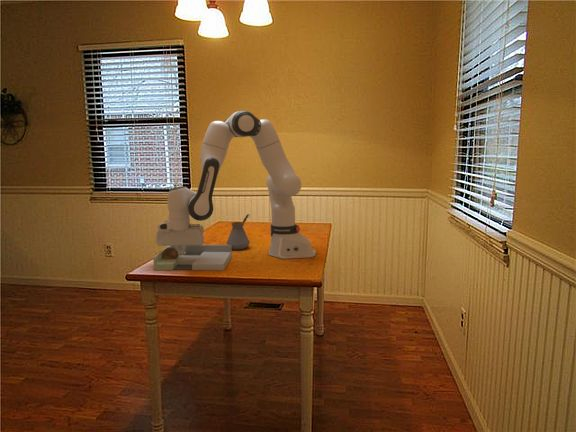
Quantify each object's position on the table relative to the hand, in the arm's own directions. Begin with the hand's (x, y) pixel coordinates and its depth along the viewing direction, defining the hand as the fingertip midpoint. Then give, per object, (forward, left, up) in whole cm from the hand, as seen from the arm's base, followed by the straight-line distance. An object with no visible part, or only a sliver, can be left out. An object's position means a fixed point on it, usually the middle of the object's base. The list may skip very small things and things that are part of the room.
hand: (181, 255), depth 175 cm
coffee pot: (-22, -31, -4) cm, 39 cm away
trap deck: (-6, 0, -4) cm, 7 cm away
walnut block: (+4, 0, -1) cm, 4 cm away
